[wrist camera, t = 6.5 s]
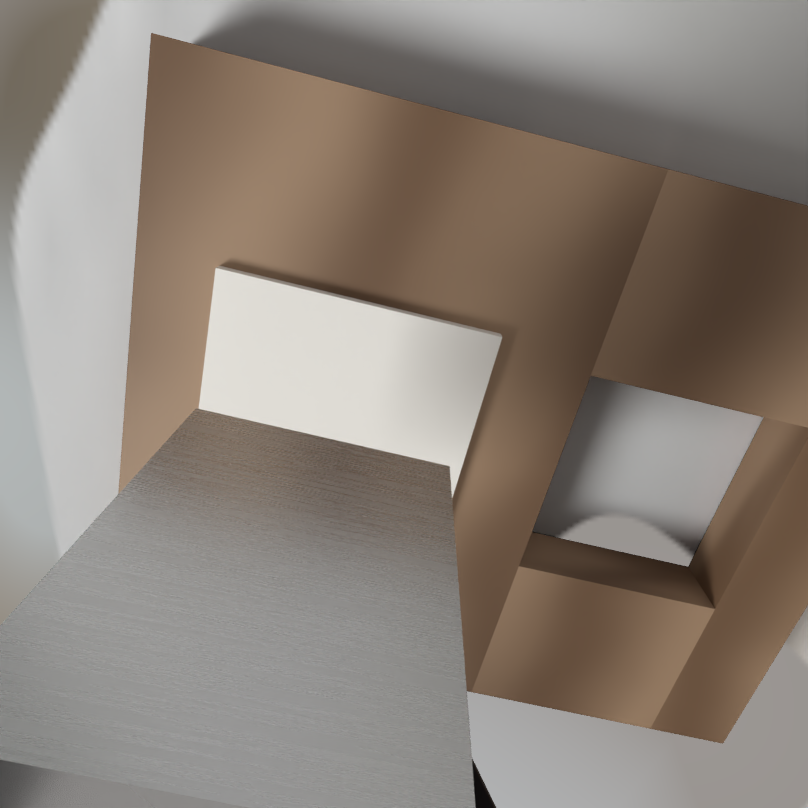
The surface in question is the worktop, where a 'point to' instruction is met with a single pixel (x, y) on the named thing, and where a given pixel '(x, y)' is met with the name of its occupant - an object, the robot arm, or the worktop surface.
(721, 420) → the worktop surface
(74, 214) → the worktop surface
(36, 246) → the worktop surface
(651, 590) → the hole plate
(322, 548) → the grey rectangular block
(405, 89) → the worktop surface
